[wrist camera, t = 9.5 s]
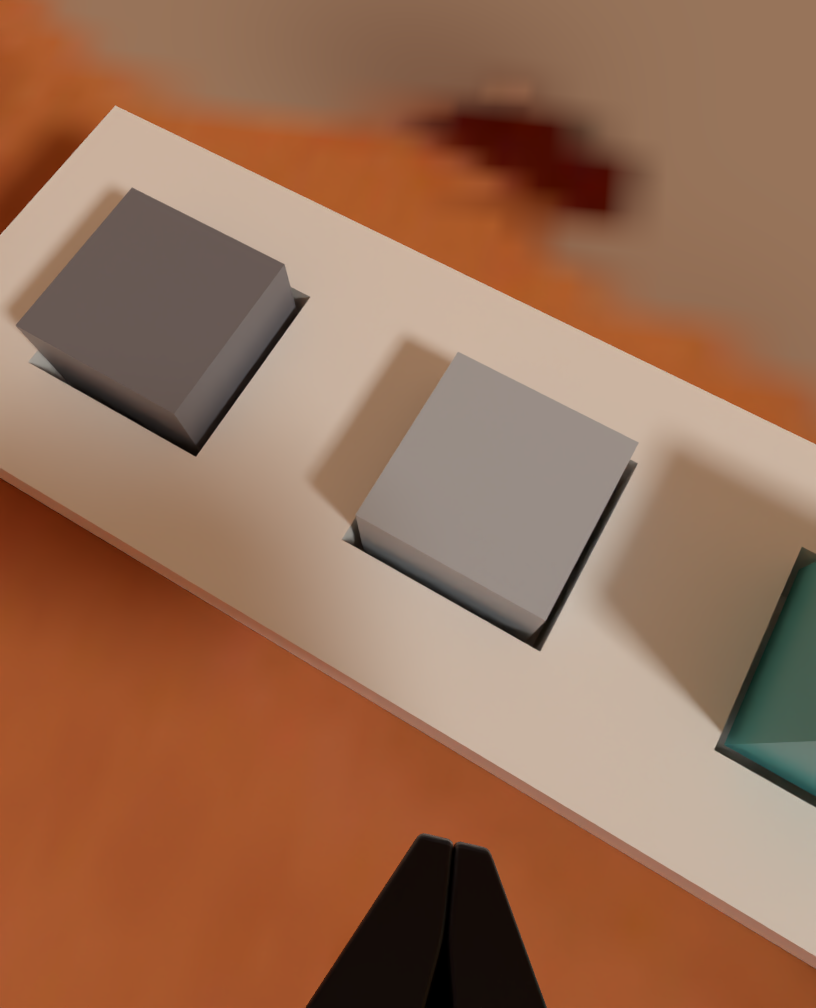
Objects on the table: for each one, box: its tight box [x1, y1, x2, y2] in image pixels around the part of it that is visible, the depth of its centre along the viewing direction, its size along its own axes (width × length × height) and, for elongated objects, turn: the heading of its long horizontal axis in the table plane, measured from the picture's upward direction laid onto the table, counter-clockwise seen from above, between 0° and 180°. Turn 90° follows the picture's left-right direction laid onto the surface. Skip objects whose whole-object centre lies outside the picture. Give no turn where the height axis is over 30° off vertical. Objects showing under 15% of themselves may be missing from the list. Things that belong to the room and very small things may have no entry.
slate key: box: [355, 352, 639, 643], centre depth 18 cm, size 4×4×4 cm
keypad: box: [0, 106, 816, 969], centre depth 20 cm, size 10×29×6 cm, turn 60°
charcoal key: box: [16, 188, 298, 457], centre depth 19 cm, size 4×4×4 cm
